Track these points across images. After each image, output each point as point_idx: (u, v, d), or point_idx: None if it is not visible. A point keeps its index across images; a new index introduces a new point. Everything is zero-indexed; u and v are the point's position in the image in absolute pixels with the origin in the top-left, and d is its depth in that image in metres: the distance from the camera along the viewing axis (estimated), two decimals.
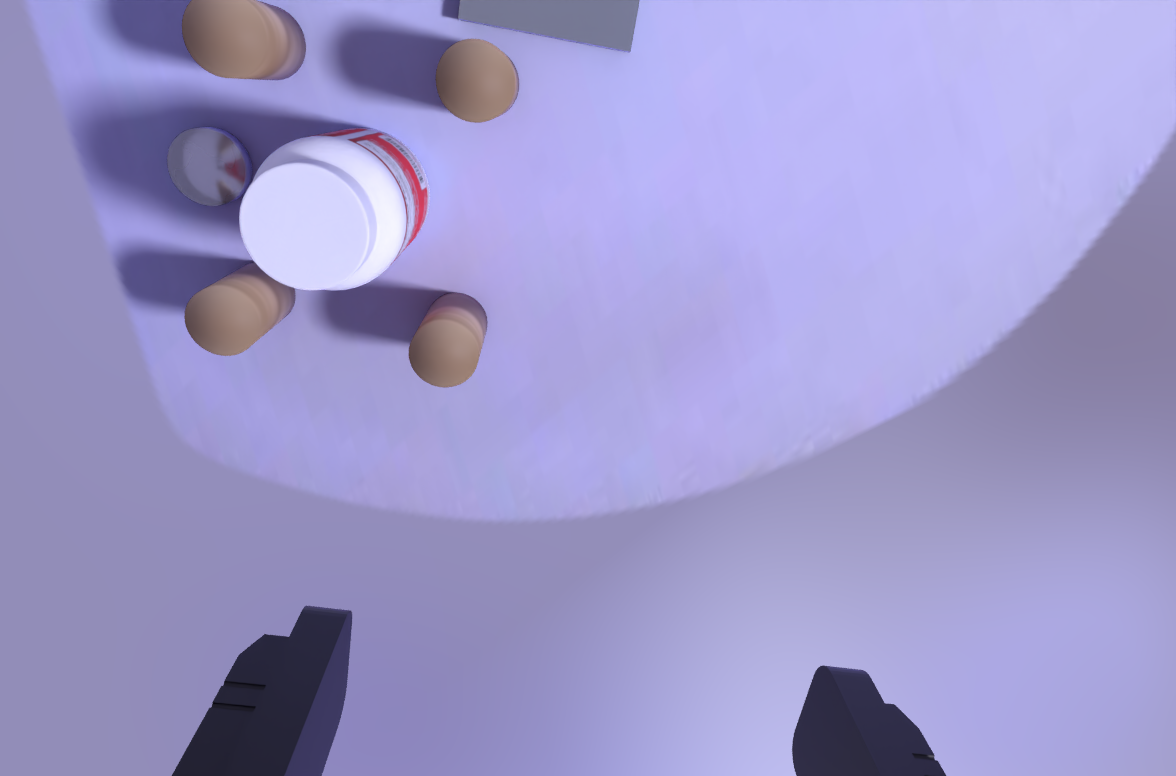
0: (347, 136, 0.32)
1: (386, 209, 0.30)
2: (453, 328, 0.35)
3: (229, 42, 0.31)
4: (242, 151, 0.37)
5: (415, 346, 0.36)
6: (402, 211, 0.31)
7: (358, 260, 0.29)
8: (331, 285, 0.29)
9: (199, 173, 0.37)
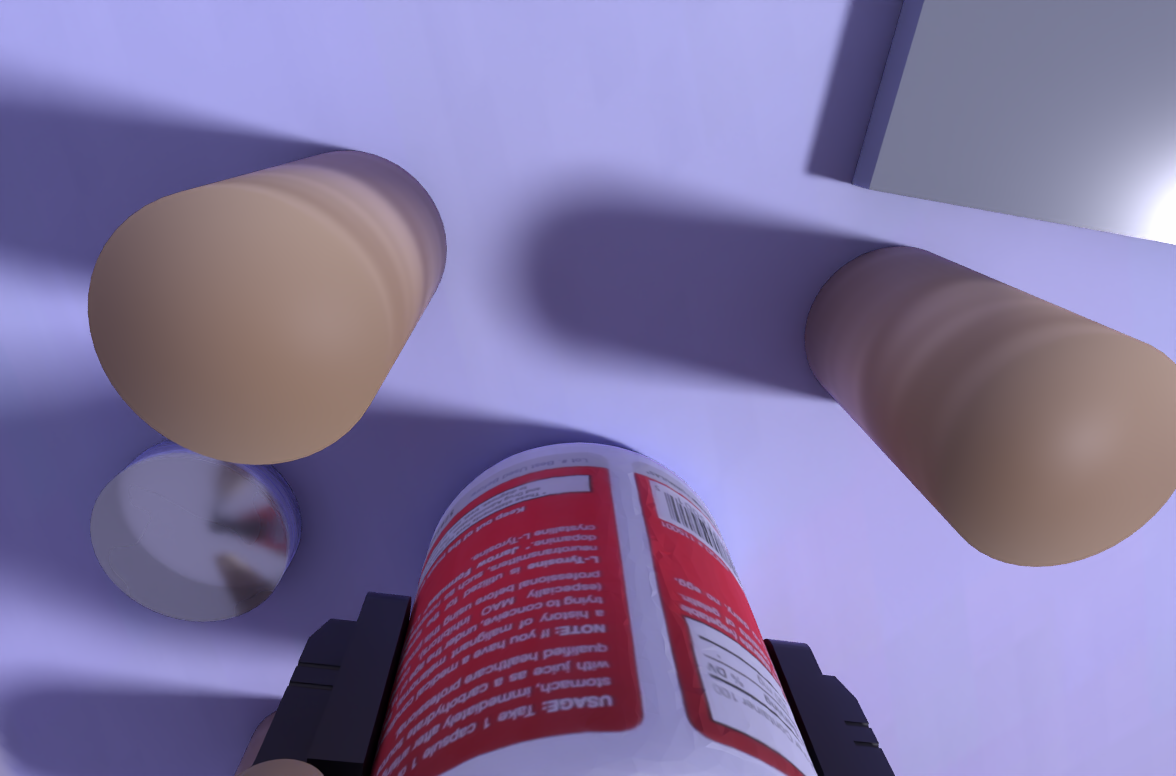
0: (653, 651, 0.09)
1: None
2: None
3: (257, 357, 0.09)
4: (279, 499, 0.15)
5: None
6: None
7: None
8: None
9: (171, 556, 0.15)
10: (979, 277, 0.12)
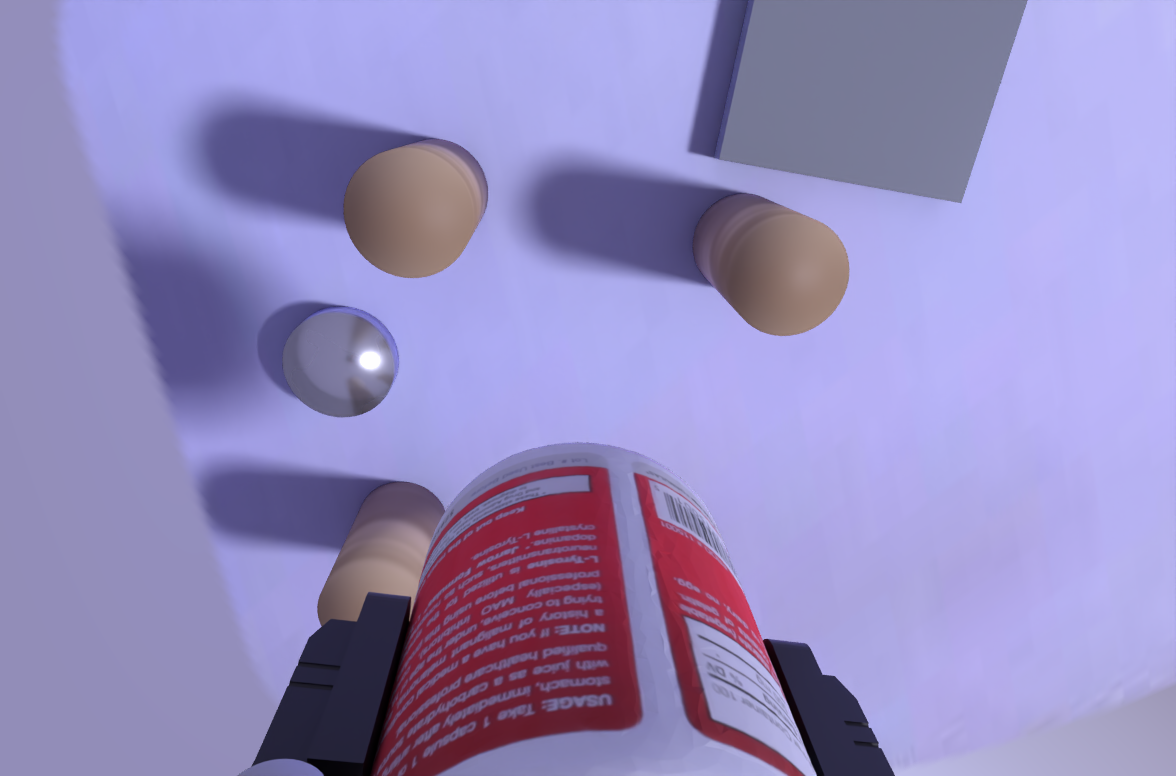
0: (653, 650, 0.09)
1: None
2: None
3: (415, 225, 0.19)
4: (389, 341, 0.26)
5: None
6: None
7: None
8: None
9: (327, 374, 0.25)
10: (769, 202, 0.23)
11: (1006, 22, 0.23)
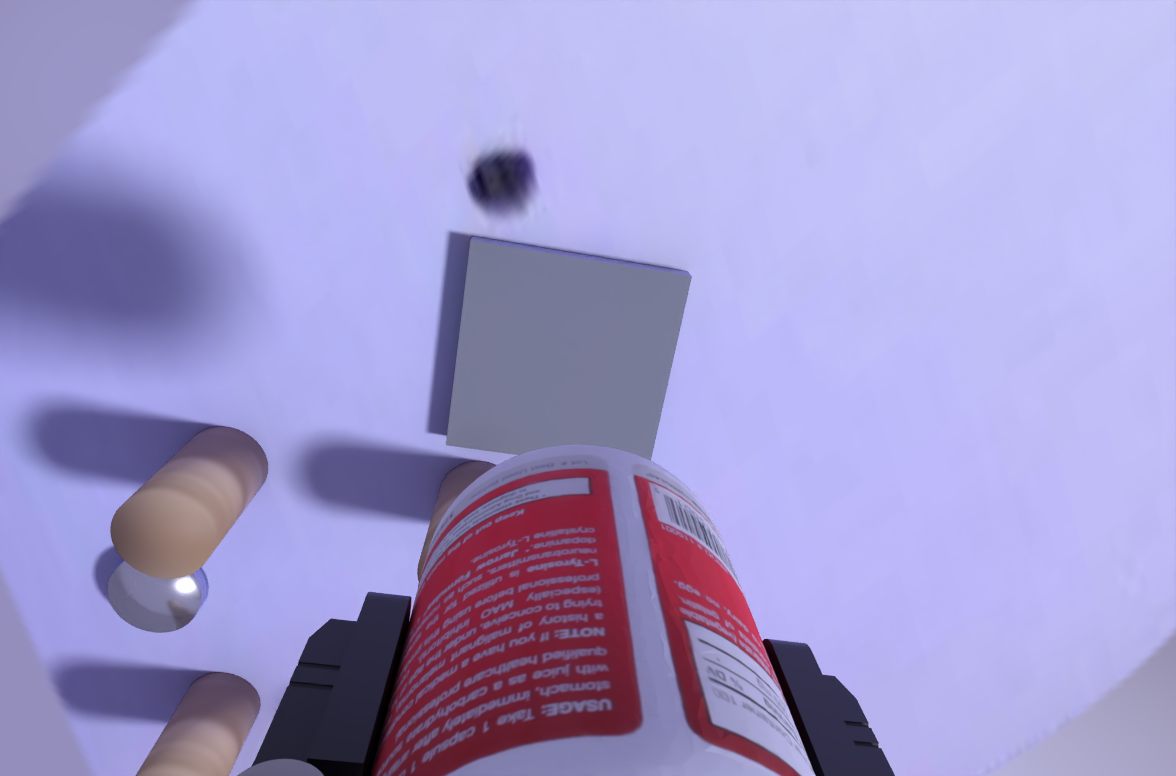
0: (653, 654, 0.09)
1: None
2: None
3: (167, 544, 0.26)
4: (195, 574, 0.32)
5: None
6: None
7: None
8: None
9: (145, 602, 0.32)
10: None
11: (664, 346, 0.29)
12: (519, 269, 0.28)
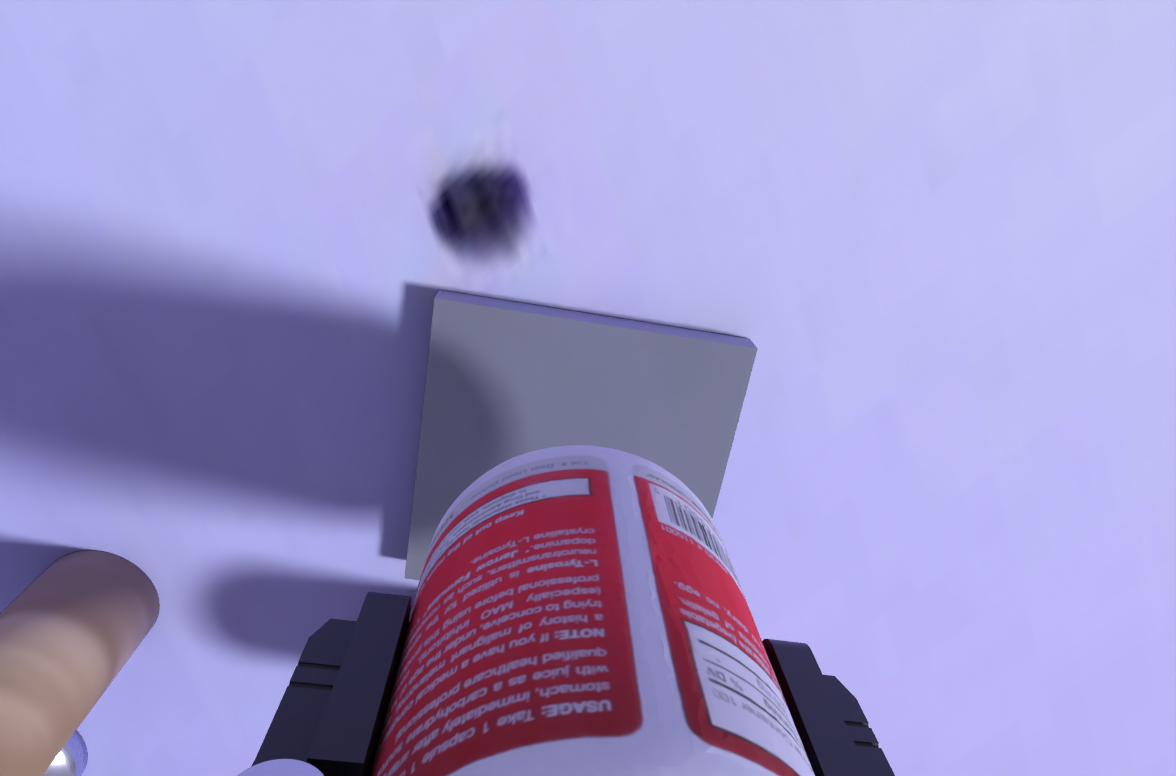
0: (653, 655, 0.09)
1: None
2: None
3: None
4: None
5: None
6: None
7: None
8: None
9: None
10: None
11: (715, 445, 0.20)
12: (506, 339, 0.19)
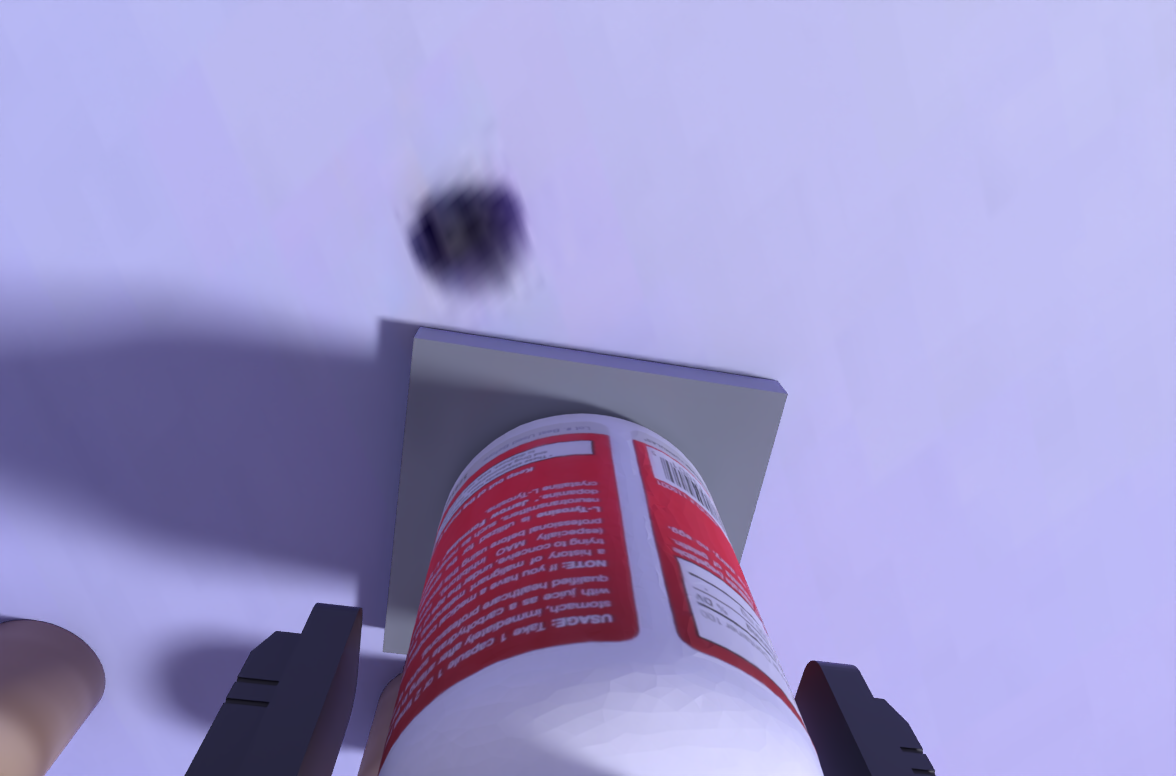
0: (649, 582, 0.11)
1: None
2: None
3: None
4: None
5: None
6: None
7: None
8: None
9: None
10: None
11: (738, 503, 0.18)
12: (497, 384, 0.16)
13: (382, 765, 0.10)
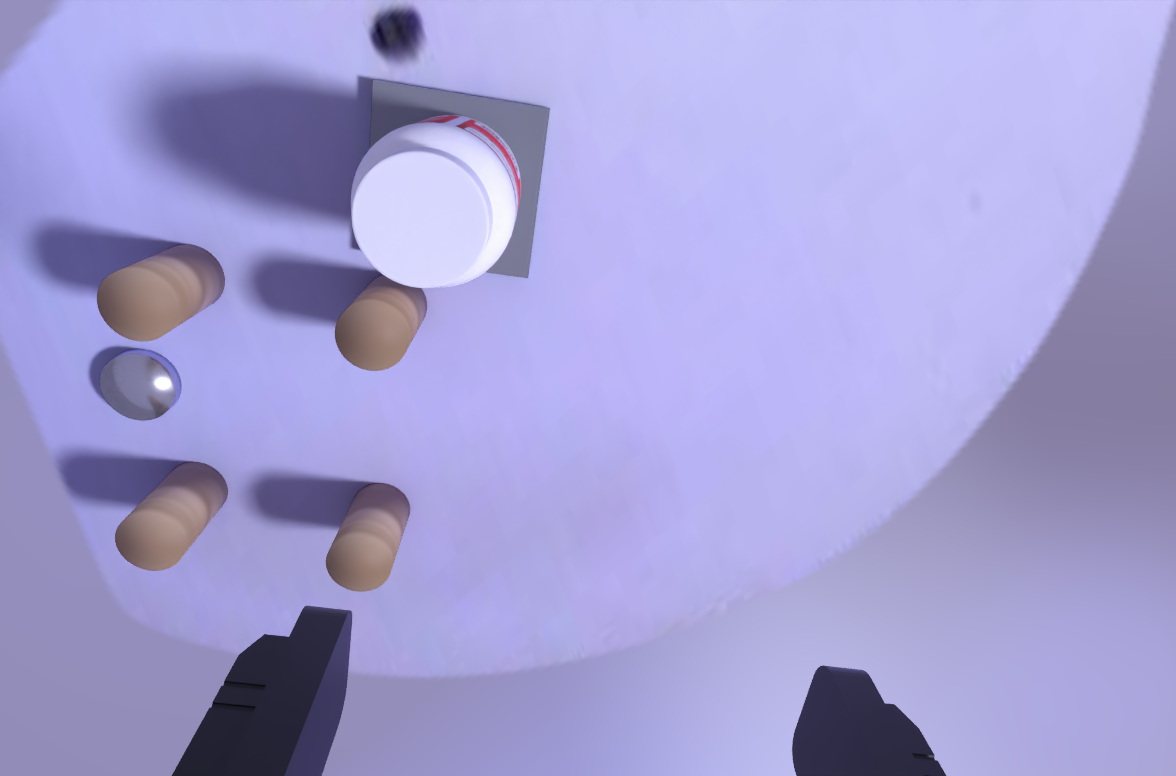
0: (451, 123, 0.30)
1: (499, 200, 0.28)
2: (365, 541, 0.38)
3: (141, 312, 0.33)
4: (170, 371, 0.40)
5: (331, 558, 0.38)
6: (513, 202, 0.29)
7: (477, 254, 0.27)
8: (447, 282, 0.27)
9: (130, 393, 0.39)
10: (384, 285, 0.36)
11: (533, 168, 0.36)
12: (412, 103, 0.35)
13: None
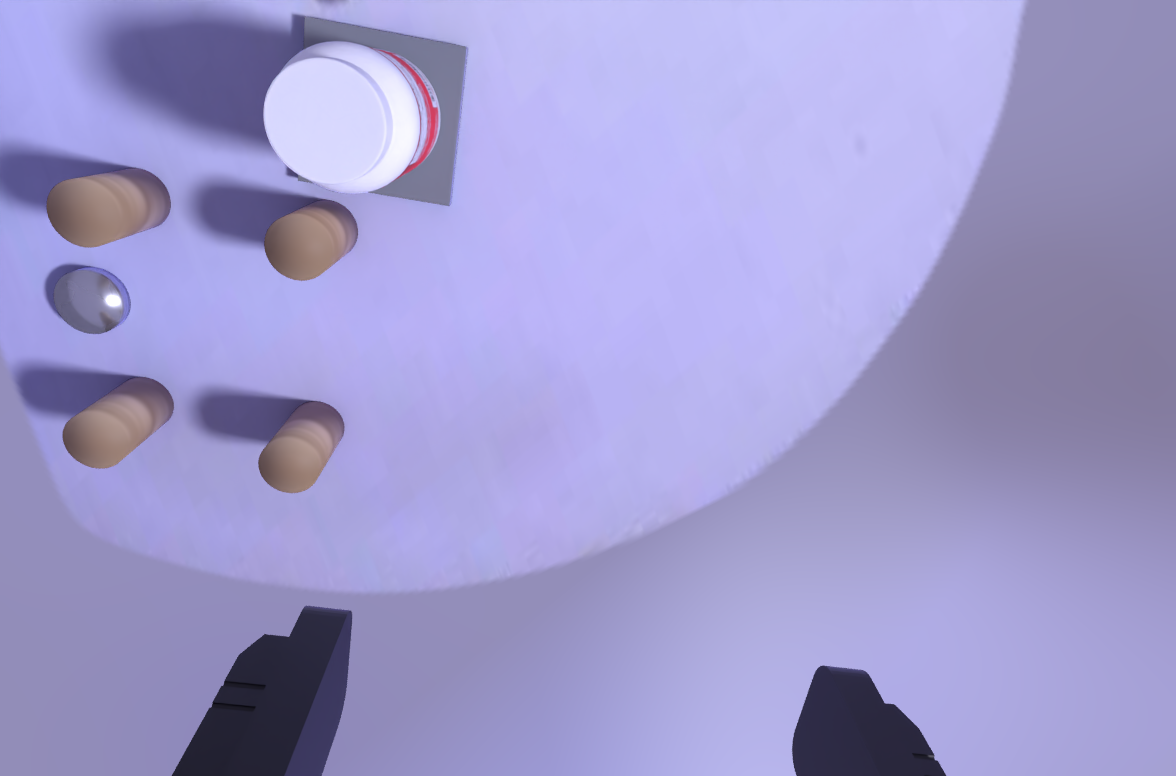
0: None
1: (401, 111, 0.32)
2: (295, 444, 0.41)
3: (87, 219, 0.37)
4: (119, 288, 0.43)
5: (263, 459, 0.41)
6: (416, 115, 0.32)
7: (376, 154, 0.30)
8: (349, 179, 0.30)
9: (81, 307, 0.43)
10: (314, 206, 0.40)
11: (452, 102, 0.40)
12: (341, 39, 0.39)
13: None
